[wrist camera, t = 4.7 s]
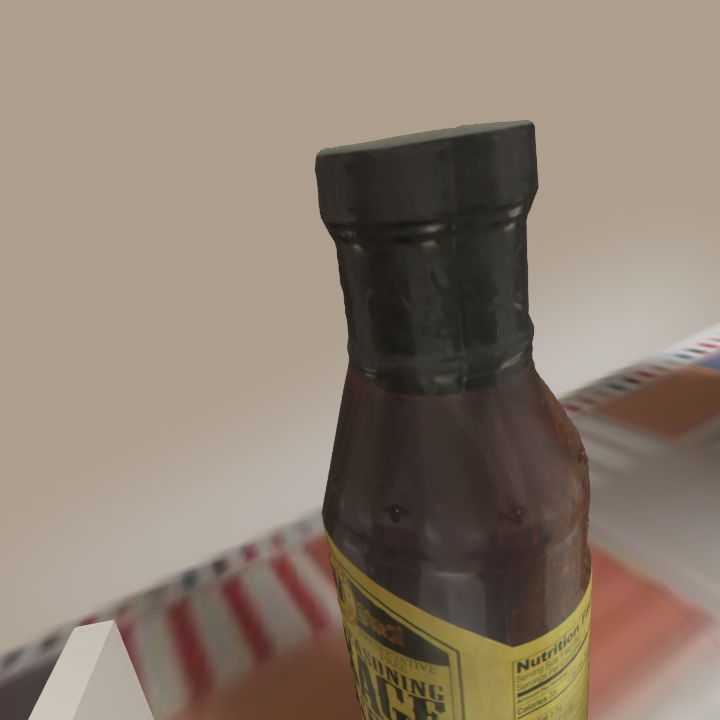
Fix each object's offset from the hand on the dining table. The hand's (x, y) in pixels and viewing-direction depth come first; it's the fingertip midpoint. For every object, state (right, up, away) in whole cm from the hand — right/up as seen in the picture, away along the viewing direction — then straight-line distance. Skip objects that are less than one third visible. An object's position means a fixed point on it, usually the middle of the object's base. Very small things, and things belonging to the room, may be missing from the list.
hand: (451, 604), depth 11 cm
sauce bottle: (+2, -9, +6) cm, 11 cm away
